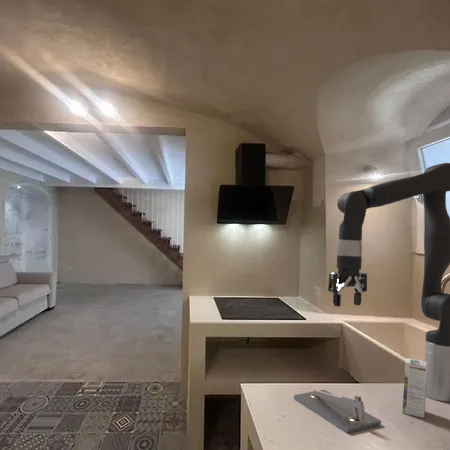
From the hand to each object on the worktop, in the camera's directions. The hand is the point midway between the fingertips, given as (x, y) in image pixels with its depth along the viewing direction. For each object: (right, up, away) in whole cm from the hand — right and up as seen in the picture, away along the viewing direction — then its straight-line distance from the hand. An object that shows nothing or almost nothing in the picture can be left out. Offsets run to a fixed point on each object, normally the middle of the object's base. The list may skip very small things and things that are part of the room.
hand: (347, 305), depth 124 cm
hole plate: (-8, -27, -13) cm, 31 cm away
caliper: (-7, -26, -13) cm, 30 cm away
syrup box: (+16, -29, -11) cm, 35 cm away
